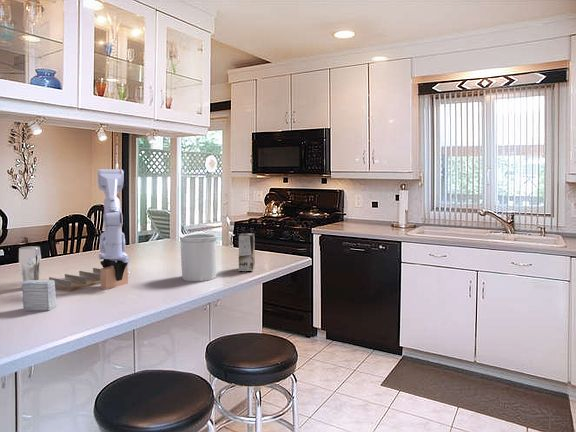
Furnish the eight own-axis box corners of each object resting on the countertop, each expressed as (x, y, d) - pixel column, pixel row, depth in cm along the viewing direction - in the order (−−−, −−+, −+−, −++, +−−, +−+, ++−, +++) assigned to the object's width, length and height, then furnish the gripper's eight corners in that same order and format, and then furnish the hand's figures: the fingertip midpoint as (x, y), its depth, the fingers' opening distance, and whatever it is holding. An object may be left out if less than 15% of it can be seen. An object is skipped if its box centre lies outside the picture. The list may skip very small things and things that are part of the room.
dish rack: (94, 275, 178) (94, 267, 178) (116, 279, 172) (116, 270, 172) (47, 286, 160) (46, 277, 160) (70, 291, 154) (69, 281, 154)
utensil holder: (209, 283, 168) (209, 238, 166) (174, 280, 171) (173, 237, 169) (222, 274, 182) (222, 233, 181) (189, 272, 185) (189, 232, 184)
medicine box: (56, 306, 136) (55, 279, 135) (49, 311, 132) (48, 283, 131) (31, 306, 136) (29, 279, 135) (22, 311, 131) (21, 283, 131)
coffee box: (253, 272, 187) (253, 235, 186) (238, 272, 187) (238, 235, 186) (255, 267, 196) (255, 232, 195) (241, 267, 197) (240, 232, 195)
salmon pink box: (122, 282, 168) (122, 263, 167) (128, 283, 166) (127, 264, 166) (101, 288, 159) (100, 268, 158) (106, 289, 157) (105, 269, 157)
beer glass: (17, 290, 154) (15, 249, 153) (23, 286, 161) (21, 246, 160) (39, 289, 156) (37, 248, 155) (44, 285, 163) (42, 245, 161)
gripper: (91, 243, 161) (92, 279, 162) (118, 246, 154) (119, 284, 155) (107, 241, 167) (108, 275, 168) (134, 244, 160) (134, 280, 162)
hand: (114, 279), depth 162 cm, fingers open, 4 cm apart
